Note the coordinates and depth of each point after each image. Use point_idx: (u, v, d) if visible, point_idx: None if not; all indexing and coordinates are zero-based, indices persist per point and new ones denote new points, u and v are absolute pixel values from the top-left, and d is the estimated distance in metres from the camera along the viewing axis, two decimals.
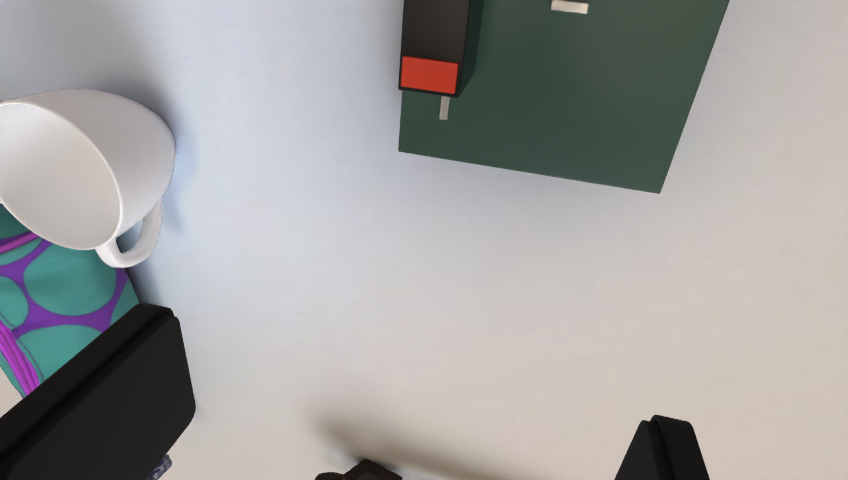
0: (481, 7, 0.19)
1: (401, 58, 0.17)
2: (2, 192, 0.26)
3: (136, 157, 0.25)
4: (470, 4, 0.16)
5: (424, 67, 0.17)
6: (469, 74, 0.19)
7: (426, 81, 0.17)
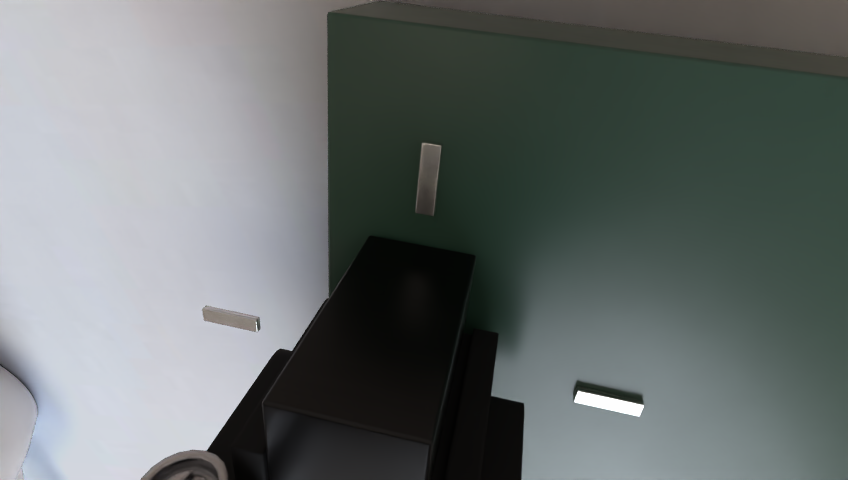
0: None
1: None
2: None
3: None
4: None
5: None
6: None
7: None
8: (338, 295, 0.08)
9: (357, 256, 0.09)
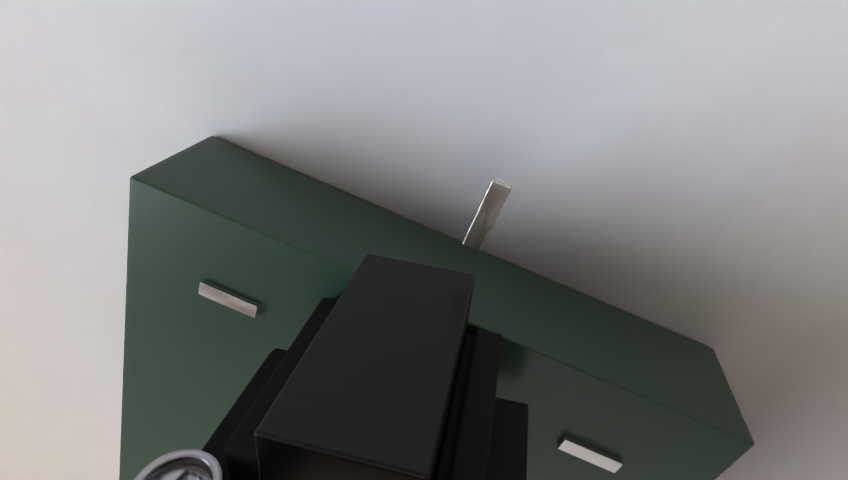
0: None
1: None
2: None
3: None
4: None
5: None
6: None
7: None
8: (335, 318, 0.08)
9: (355, 276, 0.09)
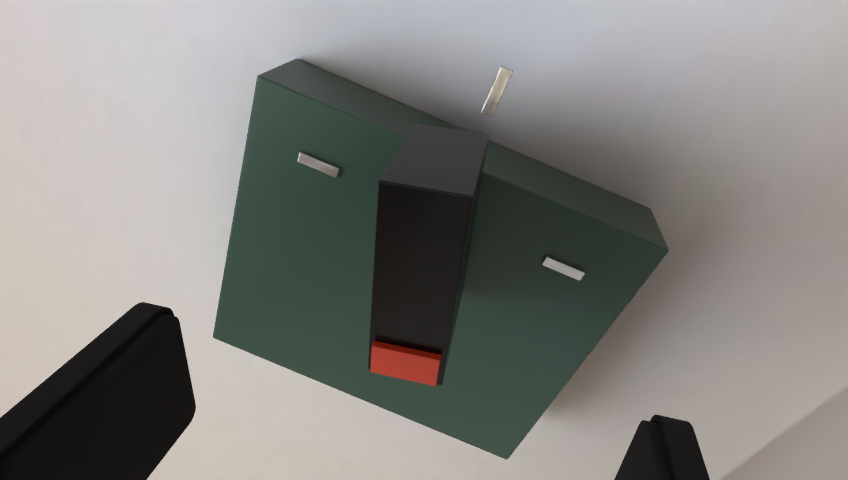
0: (470, 242, 0.16)
1: (370, 342, 0.14)
2: None
3: None
4: (455, 301, 0.13)
5: (398, 359, 0.14)
6: (455, 321, 0.16)
7: (401, 372, 0.14)
8: (406, 146, 0.13)
9: (413, 132, 0.14)
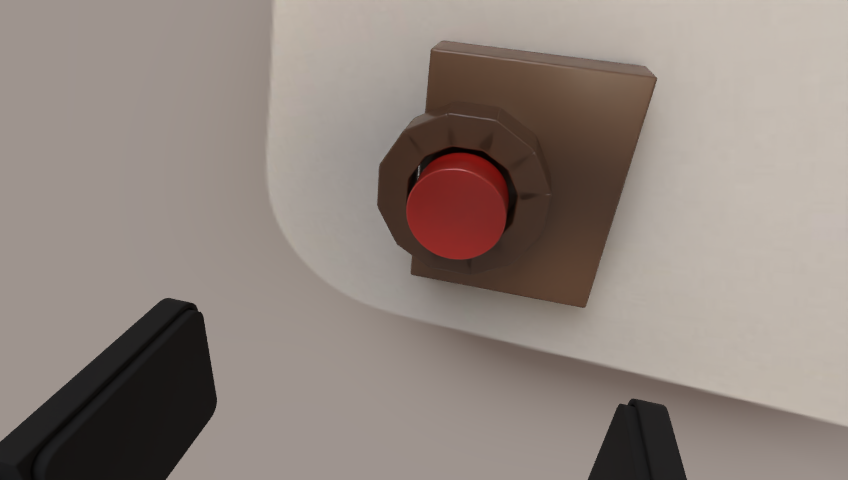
0: None
1: None
2: None
3: None
4: None
5: None
6: None
7: None
8: None
9: None
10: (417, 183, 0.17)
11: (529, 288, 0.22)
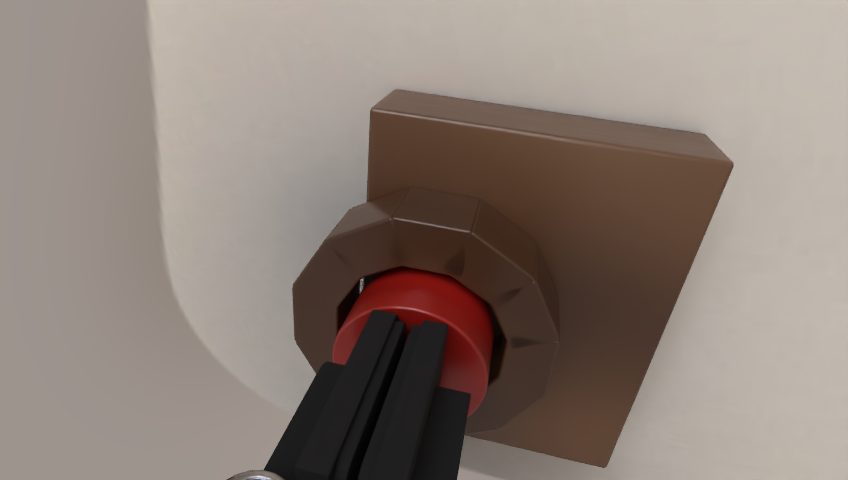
0: None
1: None
2: None
3: None
4: None
5: None
6: None
7: None
8: None
9: None
10: (346, 323, 0.11)
11: (526, 439, 0.15)
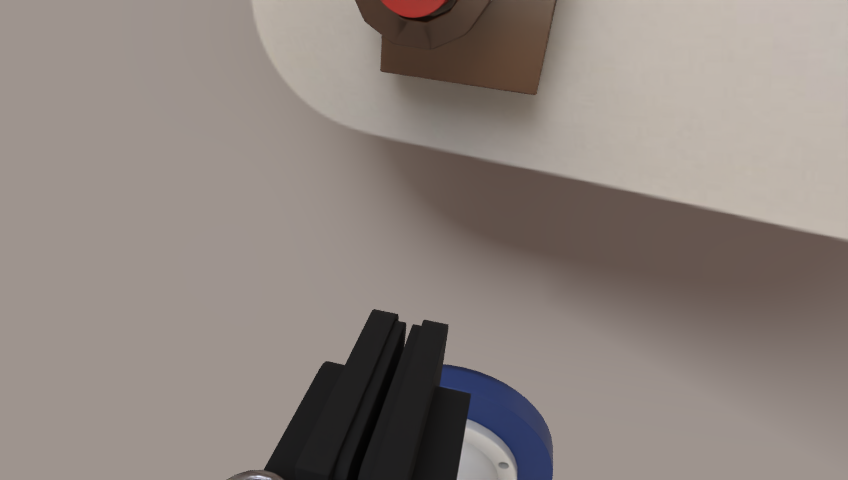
0: None
1: None
2: None
3: None
4: None
5: None
6: None
7: None
8: None
9: None
10: None
11: (486, 77, 0.25)
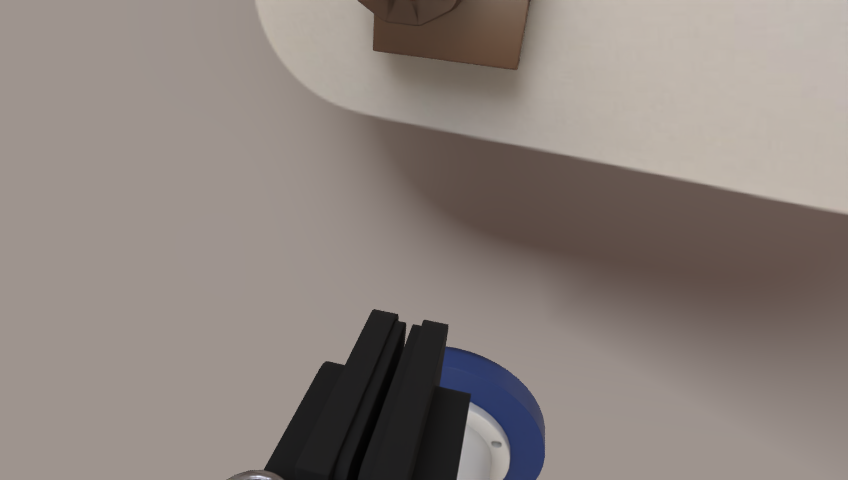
0: None
1: None
2: None
3: None
4: None
5: None
6: None
7: None
8: None
9: None
10: None
11: (470, 54, 0.27)
